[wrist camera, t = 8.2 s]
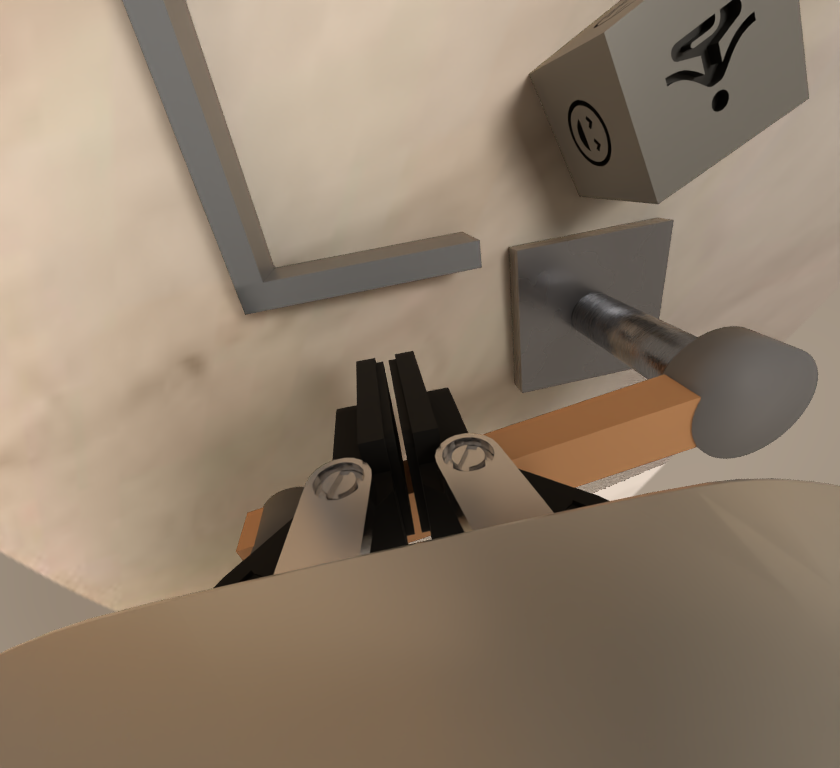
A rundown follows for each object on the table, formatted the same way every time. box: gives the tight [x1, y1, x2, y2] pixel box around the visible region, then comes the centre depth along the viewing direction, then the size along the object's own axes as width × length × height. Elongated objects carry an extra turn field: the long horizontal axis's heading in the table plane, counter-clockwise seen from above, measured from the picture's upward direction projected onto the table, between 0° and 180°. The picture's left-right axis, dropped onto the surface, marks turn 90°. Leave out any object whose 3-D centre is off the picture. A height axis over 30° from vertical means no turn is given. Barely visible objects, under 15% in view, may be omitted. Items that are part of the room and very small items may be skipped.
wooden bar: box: [236, 326, 818, 560], centre depth 11 cm, size 17×4×2 cm, turn 106°
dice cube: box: [529, 0, 809, 204], centre depth 13 cm, size 5×5×5 cm
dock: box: [122, 0, 482, 315], centre depth 13 cm, size 9×13×2 cm
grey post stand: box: [509, 218, 698, 393], centre depth 16 cm, size 7×7×8 cm
